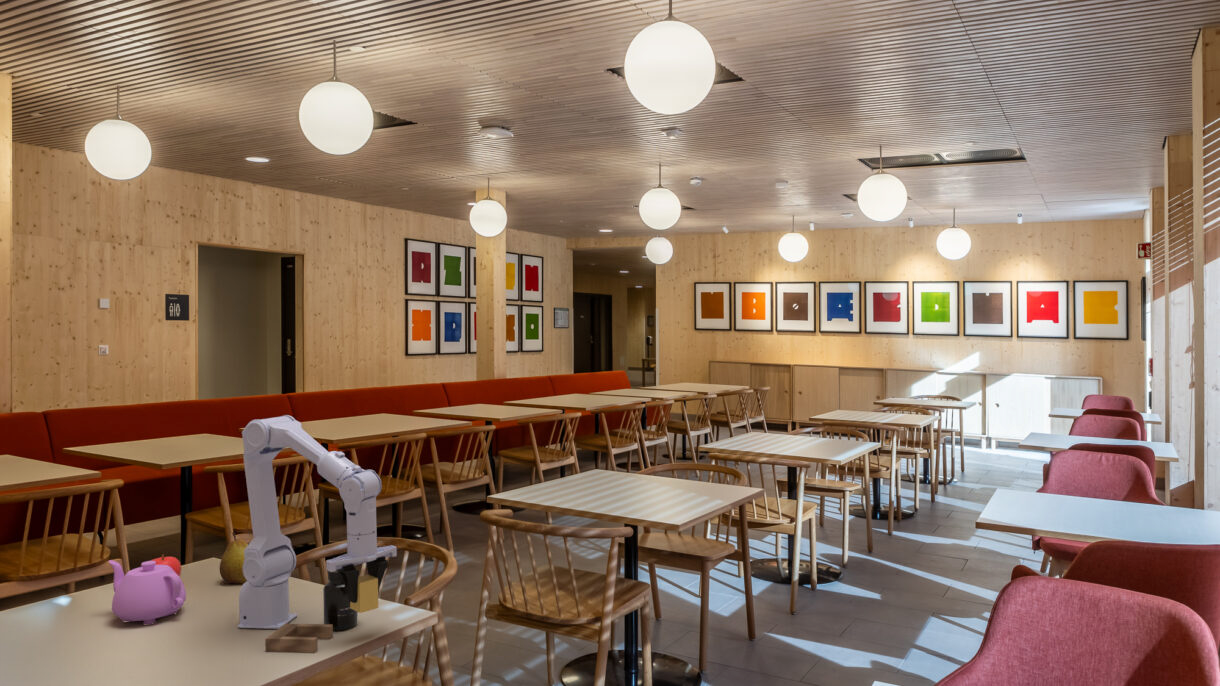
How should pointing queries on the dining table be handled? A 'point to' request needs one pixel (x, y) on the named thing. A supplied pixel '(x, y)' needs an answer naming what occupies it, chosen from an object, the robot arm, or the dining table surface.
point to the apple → (169, 563)
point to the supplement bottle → (337, 604)
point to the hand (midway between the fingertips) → (363, 598)
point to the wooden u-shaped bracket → (298, 637)
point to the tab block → (366, 594)
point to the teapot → (146, 592)
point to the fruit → (233, 562)
